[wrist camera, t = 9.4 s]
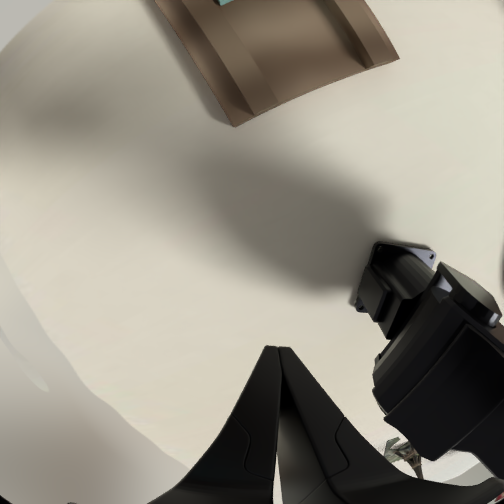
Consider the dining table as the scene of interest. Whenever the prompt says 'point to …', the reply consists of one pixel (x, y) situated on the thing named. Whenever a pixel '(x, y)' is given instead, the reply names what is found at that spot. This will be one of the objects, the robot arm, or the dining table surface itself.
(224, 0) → the block
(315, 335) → the dining table surface
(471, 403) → the robot arm
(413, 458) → the eiffel tower figurine
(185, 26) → the chute
